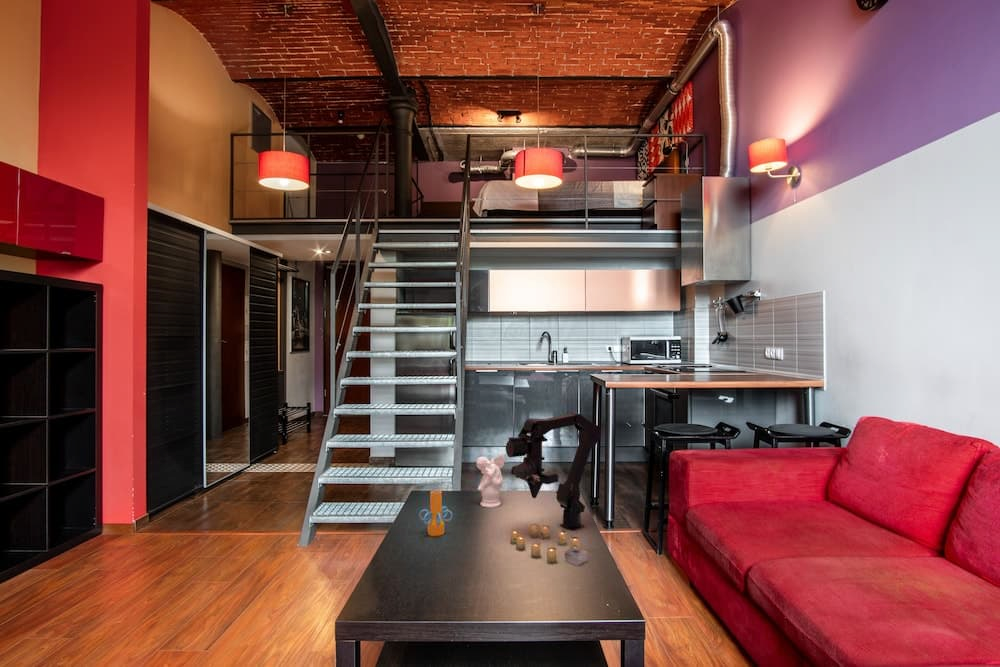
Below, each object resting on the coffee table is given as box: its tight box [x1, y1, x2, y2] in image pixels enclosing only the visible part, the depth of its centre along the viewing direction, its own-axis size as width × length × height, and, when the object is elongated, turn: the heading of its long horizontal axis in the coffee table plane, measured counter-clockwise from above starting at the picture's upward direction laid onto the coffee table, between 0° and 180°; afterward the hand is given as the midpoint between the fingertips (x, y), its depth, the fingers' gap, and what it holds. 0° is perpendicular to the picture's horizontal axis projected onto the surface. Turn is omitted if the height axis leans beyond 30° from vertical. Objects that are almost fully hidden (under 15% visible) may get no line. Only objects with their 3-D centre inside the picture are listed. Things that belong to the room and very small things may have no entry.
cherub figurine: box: [476, 453, 506, 509], centre depth 217 cm, size 12×12×22 cm
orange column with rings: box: [418, 489, 454, 537], centre depth 183 cm, size 12×10×15 cm
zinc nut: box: [564, 547, 588, 567], centre depth 160 cm, size 5×5×3 cm
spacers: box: [510, 523, 581, 565], centre depth 171 cm, size 17×22×4 cm
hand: (534, 497), depth 182 cm, fingers closed
